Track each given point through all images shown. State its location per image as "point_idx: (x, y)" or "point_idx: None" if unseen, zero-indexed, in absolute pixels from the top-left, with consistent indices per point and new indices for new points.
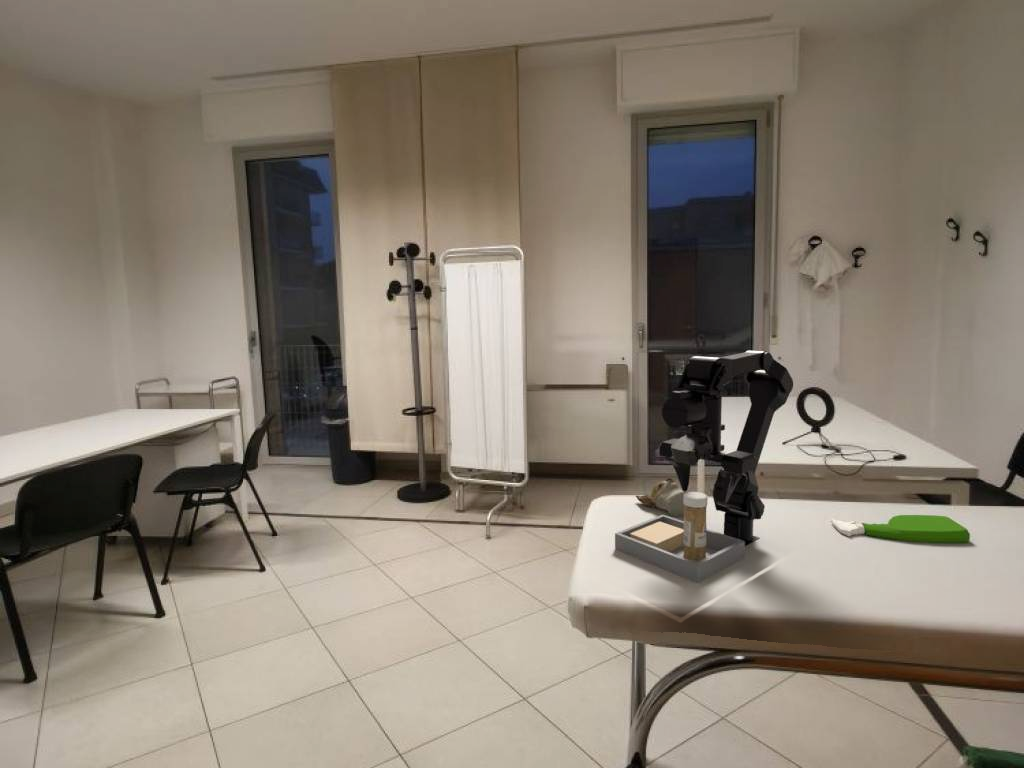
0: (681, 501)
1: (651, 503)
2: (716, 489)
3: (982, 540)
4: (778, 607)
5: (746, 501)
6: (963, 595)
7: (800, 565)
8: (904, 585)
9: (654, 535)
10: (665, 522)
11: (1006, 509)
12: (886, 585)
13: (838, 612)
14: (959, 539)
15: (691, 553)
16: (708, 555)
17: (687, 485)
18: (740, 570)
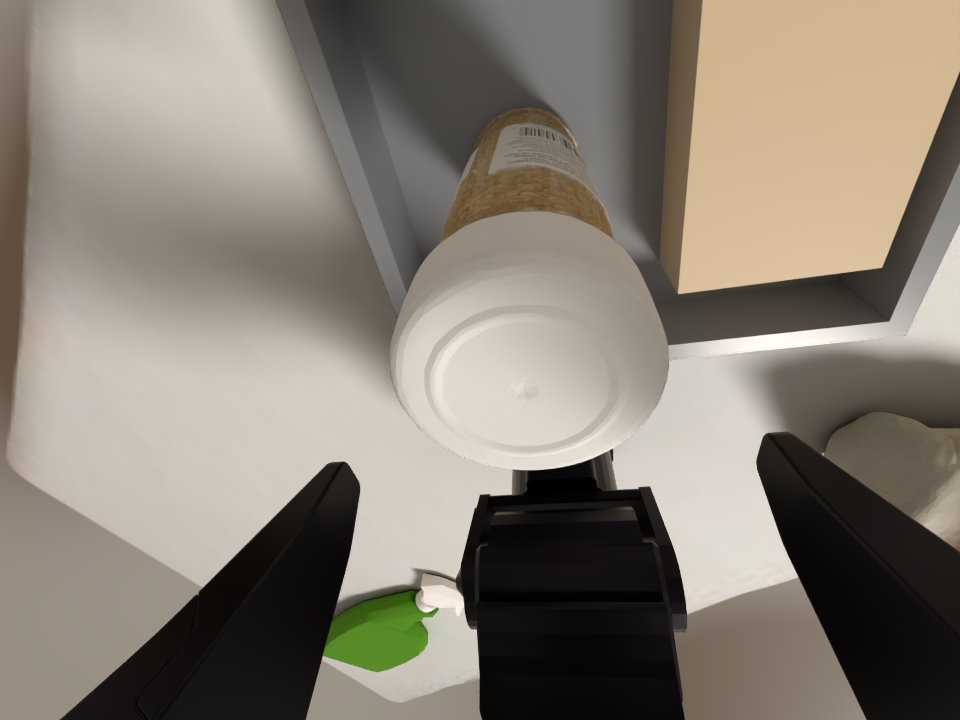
0: (873, 482)
1: None
2: (645, 584)
3: None
4: (80, 151)
5: (472, 564)
6: (144, 512)
7: (341, 422)
8: (194, 485)
9: (805, 65)
10: (851, 306)
11: (395, 699)
12: (199, 466)
13: (56, 288)
14: None
15: (497, 126)
16: None
17: (778, 512)
18: (377, 268)
